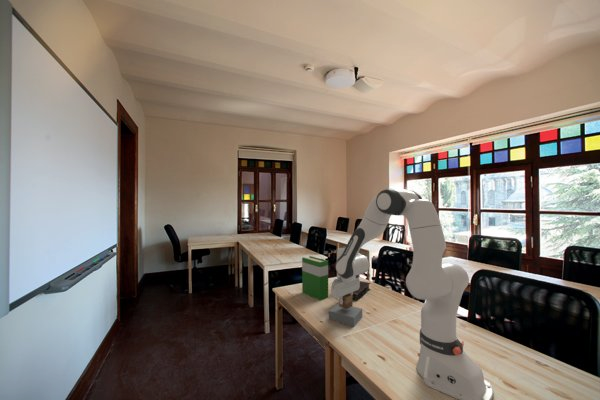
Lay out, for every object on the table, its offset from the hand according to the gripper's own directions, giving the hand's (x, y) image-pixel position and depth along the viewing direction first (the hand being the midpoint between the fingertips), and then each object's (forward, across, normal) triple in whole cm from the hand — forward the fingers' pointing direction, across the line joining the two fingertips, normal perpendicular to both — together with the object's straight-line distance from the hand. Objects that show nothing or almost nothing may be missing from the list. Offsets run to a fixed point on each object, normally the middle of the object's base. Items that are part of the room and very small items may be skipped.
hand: (345, 302), depth 128 cm
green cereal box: (+9, +10, +34) cm, 37 cm away
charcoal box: (+9, 0, 0) cm, 9 cm away
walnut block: (+2, 0, 0) cm, 2 cm away
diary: (+9, +33, +21) cm, 40 cm away
